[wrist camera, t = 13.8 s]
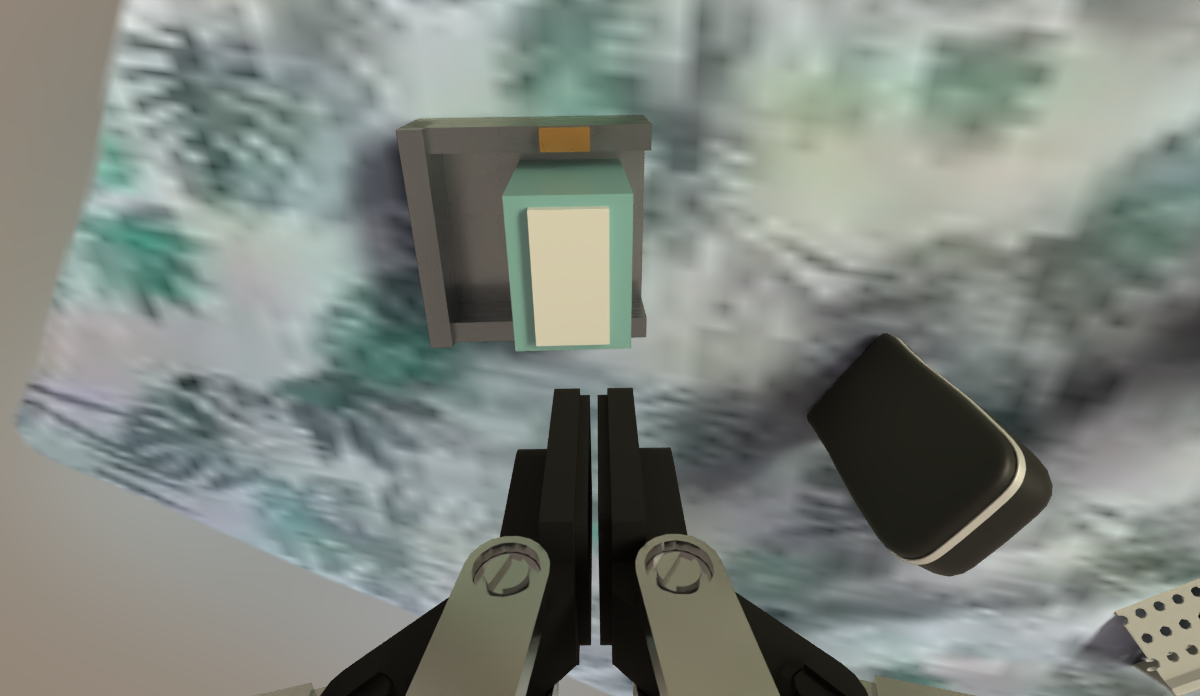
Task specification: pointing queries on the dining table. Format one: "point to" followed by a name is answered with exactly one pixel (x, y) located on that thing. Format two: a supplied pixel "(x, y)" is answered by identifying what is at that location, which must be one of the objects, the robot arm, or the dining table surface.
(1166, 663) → the corner bead
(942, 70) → the dining table surface
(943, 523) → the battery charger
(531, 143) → the tray
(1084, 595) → the dining table surface
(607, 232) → the block
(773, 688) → the robot arm
